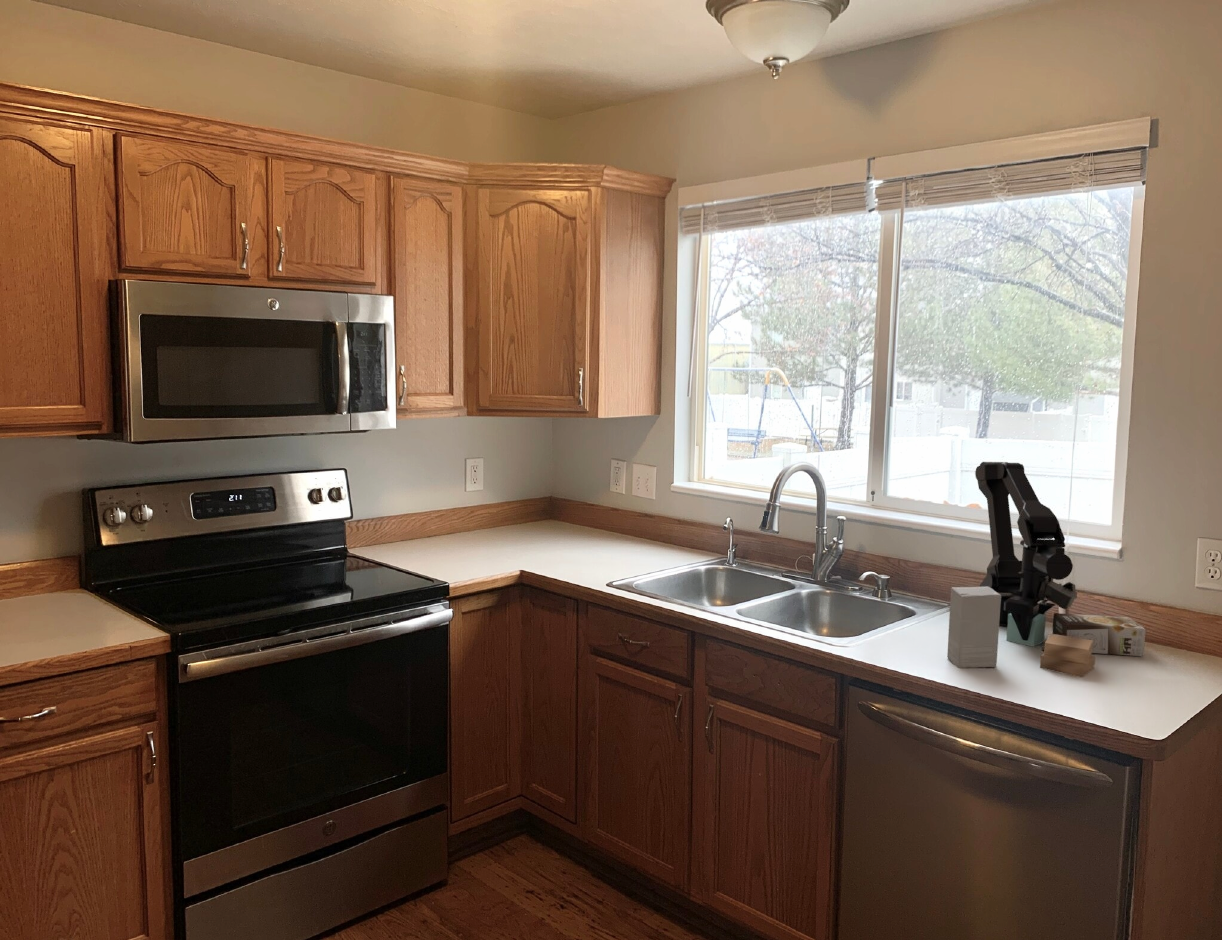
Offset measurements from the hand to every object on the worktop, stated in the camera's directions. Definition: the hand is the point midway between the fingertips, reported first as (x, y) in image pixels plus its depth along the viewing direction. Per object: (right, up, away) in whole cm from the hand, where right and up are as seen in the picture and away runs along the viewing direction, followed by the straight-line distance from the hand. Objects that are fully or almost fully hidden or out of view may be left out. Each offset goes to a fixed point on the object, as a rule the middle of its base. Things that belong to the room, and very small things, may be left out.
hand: (1030, 637), depth 211 cm
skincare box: (-19, -3, -16) cm, 25 cm away
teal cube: (-1, -1, +1) cm, 1 cm away
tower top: (0, -1, -18) cm, 18 cm away
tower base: (0, -4, -17) cm, 18 cm away
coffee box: (+21, +1, -5) cm, 22 cm away
